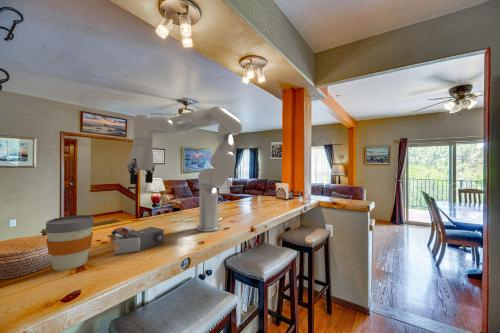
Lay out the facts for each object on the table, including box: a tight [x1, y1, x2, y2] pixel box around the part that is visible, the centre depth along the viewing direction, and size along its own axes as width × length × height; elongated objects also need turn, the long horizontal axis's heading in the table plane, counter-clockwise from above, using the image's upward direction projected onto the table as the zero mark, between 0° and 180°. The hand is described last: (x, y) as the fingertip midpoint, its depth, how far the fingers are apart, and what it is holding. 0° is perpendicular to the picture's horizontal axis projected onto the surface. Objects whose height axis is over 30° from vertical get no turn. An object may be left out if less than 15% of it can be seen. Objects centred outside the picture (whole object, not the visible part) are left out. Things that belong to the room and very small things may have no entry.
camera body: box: [128, 226, 165, 252], centre depth 91 cm, size 11×10×6 cm
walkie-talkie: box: [111, 226, 137, 240], centre depth 99 cm, size 9×4×20 cm
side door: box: [113, 237, 141, 255], centre depth 82 cm, size 1×9×5 cm, turn 112°
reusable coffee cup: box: [44, 214, 95, 271], centre depth 73 cm, size 13×13×15 cm
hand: (141, 183), depth 95 cm, fingers open, 9 cm apart
